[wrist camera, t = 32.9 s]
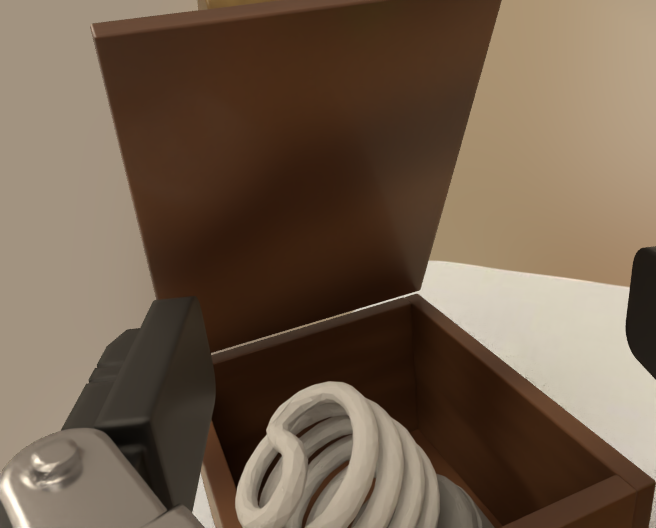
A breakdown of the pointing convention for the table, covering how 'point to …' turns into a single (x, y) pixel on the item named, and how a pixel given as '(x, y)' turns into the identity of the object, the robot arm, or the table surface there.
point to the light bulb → (347, 470)
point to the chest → (427, 419)
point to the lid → (291, 149)
